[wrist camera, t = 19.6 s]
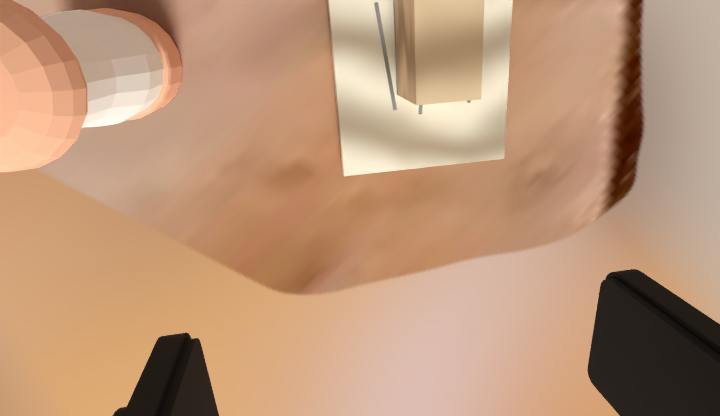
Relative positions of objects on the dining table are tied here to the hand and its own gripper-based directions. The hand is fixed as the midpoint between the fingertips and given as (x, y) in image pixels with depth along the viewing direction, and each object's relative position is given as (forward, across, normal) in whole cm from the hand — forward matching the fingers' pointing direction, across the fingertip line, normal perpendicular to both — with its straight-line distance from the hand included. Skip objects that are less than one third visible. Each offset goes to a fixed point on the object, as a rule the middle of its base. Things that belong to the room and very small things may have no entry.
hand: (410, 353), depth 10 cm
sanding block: (+27, -8, -6) cm, 29 cm away
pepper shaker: (+28, +14, -6) cm, 32 cm away
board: (+28, -8, -6) cm, 30 cm away
